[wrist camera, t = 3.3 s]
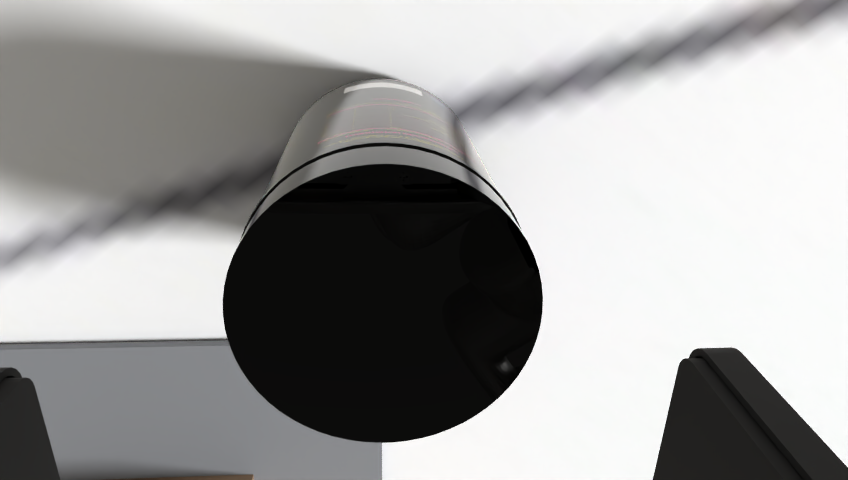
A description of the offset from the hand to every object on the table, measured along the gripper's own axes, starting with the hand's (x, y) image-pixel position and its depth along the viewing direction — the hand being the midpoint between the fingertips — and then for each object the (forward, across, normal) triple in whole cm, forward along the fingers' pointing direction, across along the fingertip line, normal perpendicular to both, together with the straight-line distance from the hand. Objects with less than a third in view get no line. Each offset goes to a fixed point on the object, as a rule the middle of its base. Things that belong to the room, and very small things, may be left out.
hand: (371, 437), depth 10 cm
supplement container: (+15, 0, +1) cm, 15 cm away
